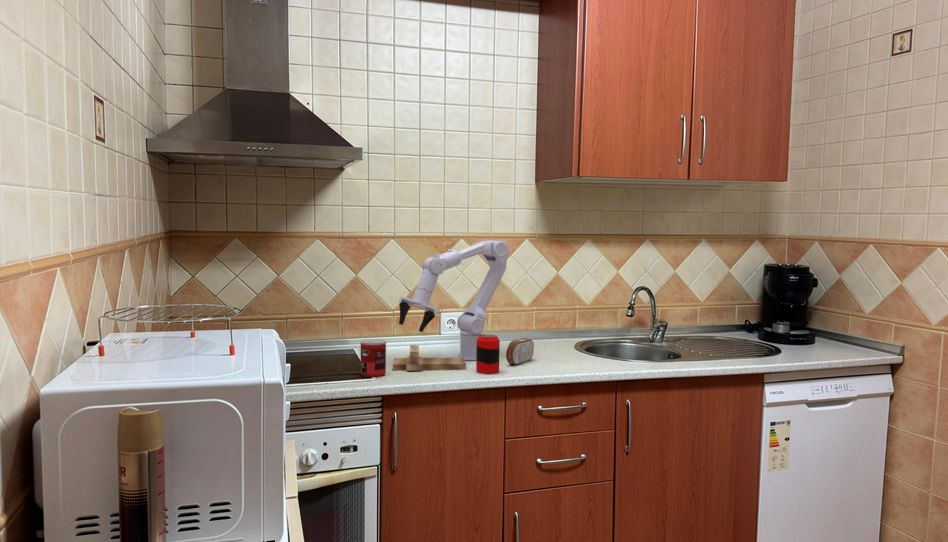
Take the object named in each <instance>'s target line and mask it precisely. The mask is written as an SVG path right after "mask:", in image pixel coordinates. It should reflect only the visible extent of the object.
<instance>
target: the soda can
mask: <svg viewBox="0 0 948 542" xmlns="http://www.w3.org/2000/svg"><path fill="white" fill-rule="evenodd" d="M481 334H482V335H480V336H479V337H478V338H477V346H476V360H475V363H476V364H475V366H476V367H475V369H476V372H477V373H478V372H479V373H478V374H481V373H484V374H483V375H494V374H493V373H495V374H498V373H499V372H500V342H501V341H500V338H499V337H498V335H496V334H492V333H481ZM497 372H498V373H497Z"/></svg>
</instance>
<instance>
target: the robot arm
mask: <svg viewBox="0 0 948 542" xmlns="http://www.w3.org/2000/svg"><path fill="white" fill-rule="evenodd" d="M446 251H447V252H443V253H441V254H440V253H436V254H435V257H433V256H431V257H430V256H429V257H427V258H426V259H425V260H424V261H422V262H421V263H422V264H421V268H422V272H421V275H420V278H419V280H418V284H417V286H416V288H415V290H414V294H413V296H412V299H411V298H408V297H405V296H403V295H400V296H399V298H398V302H399V321H398V324H399V325H401V326H404V323H405V319H406V317H407V314H408V312H409V311H410V309H411V308H412V307H414V308H418V309H420V310H423V311H424V314H423V318H422V322H421V324H420V326H419V329H418V332H420V333H423V332H424V331H425V329H426V327H427V326H428V324H429V323H430V322H431V321H433V319H434V318H435V317H436V315H437V316H438V315H439V313H440V309H439V308H436V307H433V306H432V305H429V304H430V301H431V297H432V296H433V293H434V290H435V287H436V285H437V281H438V279H439V277H440V275H442V274H443V273H444V271H446V270H450V269H453V268H454V267H458V266H459V265H460V264H461V263H462V260H465V259H468V258H472V257H474V256H477V255H482V257H483V258H485V260H486V261H487V264H488V266H489V269H488V271H487V273H486V275H485V276H484V279H483V281H482V282H481V283H482V284H481V285H480V287H479V289H478V291H477V293H476V295H475V297H474V298H473V301H472V302H471V305H470V306H469V307H467V308H466V309H464V311H463V313H462V314H461V315H459V317H458V318H457V321H456V324H457V325H456V326H457V327H458V329H459V331H460V332H459V333H460V336H459V338H460V340H459V341H460V342H459V343H460V344H459V345H460V348H459V349H460V352H459V353H460V354H458V358H464V360H465V361H476V346H477V338H478V337H479V336H480V335H482V334H483V331H484V328H485V322H486V320H487V315H486V310H487V308H488V306H489V304H490V302H491V300H492V298H493V296H494V294H495V293H496V290H497V288H498V286H499V284H500V282H501V280H502V278H503V276H504V274H505V272H506V269H507V262H508V256H509V254H510V249H509V247H508V244H507V243H506V242H505V241H504V240H491V239H486V240H481V241H478V242H477V243H474V244H472V245H470V246H467V247H464V248H462V249H461V250H456V249H452V248H448V249H447V250H446Z"/></svg>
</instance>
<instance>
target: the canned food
mask: <svg viewBox="0 0 948 542" xmlns="http://www.w3.org/2000/svg"><path fill="white" fill-rule="evenodd" d="M386 373H387V342H386V340H385V339H382V338H366V339H365V338H364V339H362V340H360V375H361V376H362V375H363V376H366V377H365V378H369V377H375V378H381V377H384V376H385V375H386ZM363 376H362V377H363Z"/></svg>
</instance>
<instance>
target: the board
mask: <svg viewBox="0 0 948 542" xmlns="http://www.w3.org/2000/svg"><path fill="white" fill-rule="evenodd" d="M453 369H466V370H467V364H466V360H464V358H459V357H422V371H454V370H453ZM392 371H407V357H394V358H393V362H392Z"/></svg>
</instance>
